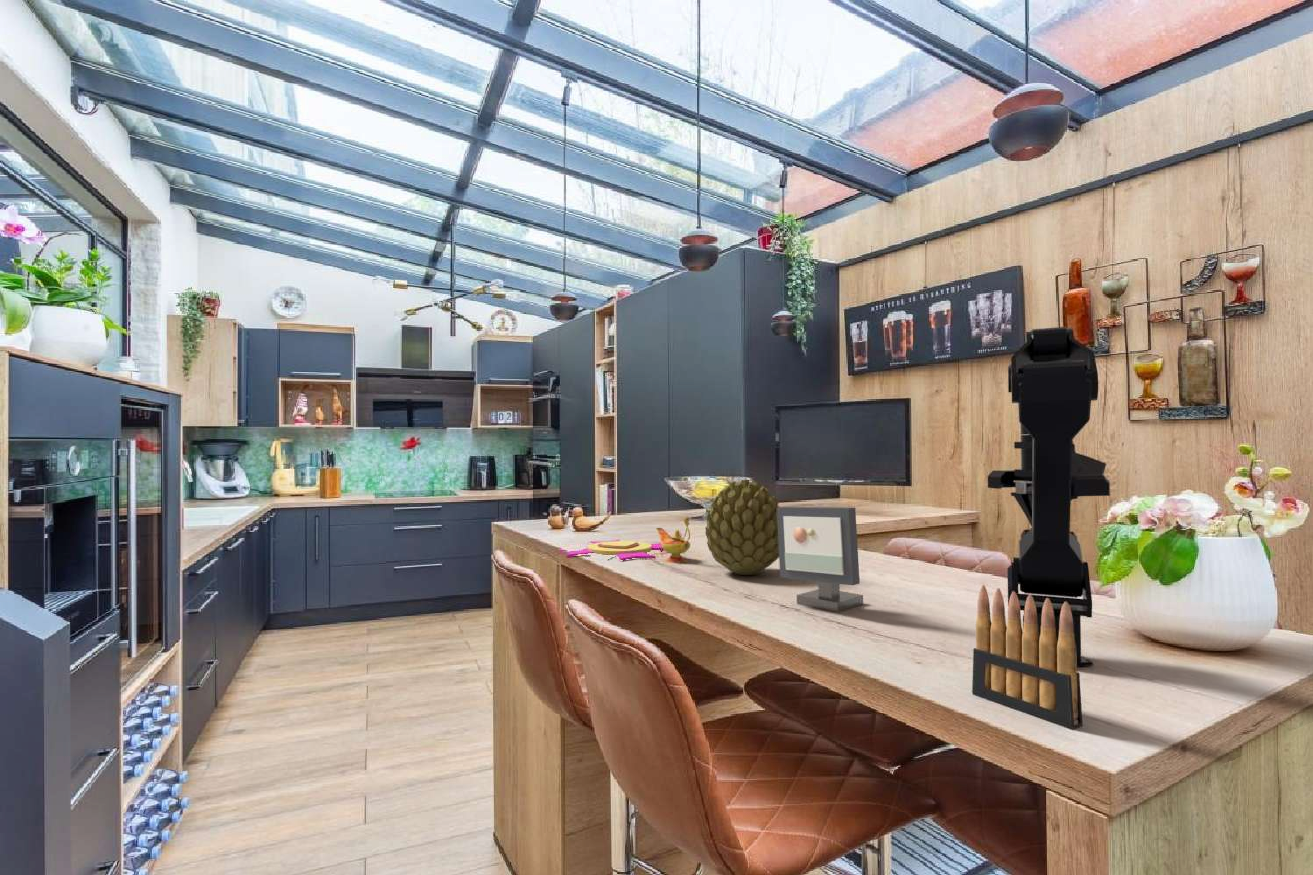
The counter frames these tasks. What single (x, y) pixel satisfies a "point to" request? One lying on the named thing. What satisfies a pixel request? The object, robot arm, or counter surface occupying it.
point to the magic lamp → (674, 543)
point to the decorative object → (743, 528)
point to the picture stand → (830, 598)
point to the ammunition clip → (1027, 660)
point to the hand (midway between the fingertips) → (1044, 541)
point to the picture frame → (818, 544)
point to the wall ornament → (620, 549)
